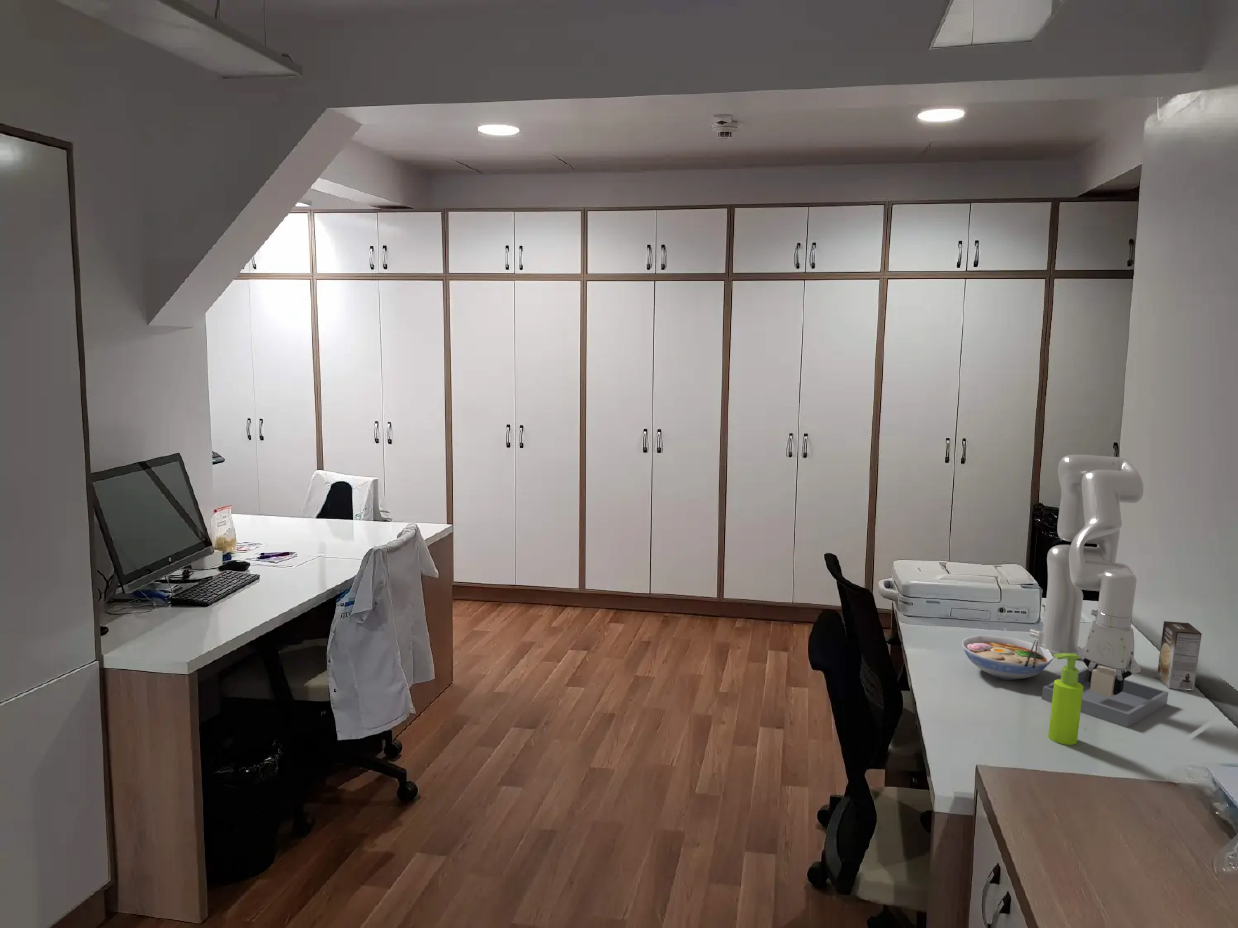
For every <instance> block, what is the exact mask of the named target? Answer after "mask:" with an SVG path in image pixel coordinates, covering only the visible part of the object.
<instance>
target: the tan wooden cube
mask: <svg viewBox="0 0 1238 928" xmlns="http://www.w3.org/2000/svg"><path fill="white" fill-rule="evenodd" d="M1115 679H1117V674H1116V669H1114V668H1110V667H1107V666H1104V665H1100V666H1098V667H1097V668H1096V669H1094V670H1092V677H1091V685H1090V691H1091V692H1094V693H1097V694H1100V695H1103V696H1106V697H1109V698H1112V697H1113V696H1115V695H1114V694H1113V689H1114V682H1115Z"/></svg>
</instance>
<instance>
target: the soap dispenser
mask: <svg viewBox="0 0 1238 928" xmlns="http://www.w3.org/2000/svg"><path fill="white" fill-rule="evenodd" d="M1052 656H1053V658H1056V659H1057V660H1065V659H1066V665H1065V666H1062V667H1061V676H1060V678H1057V679H1055V680H1054V681H1053V682H1054V688H1053V697H1052V702H1051V707H1050V708H1051V709H1050V718H1049V725H1048V726H1049V727H1048V735H1047V737H1048V739H1050V740H1051V741H1053V742H1055V743H1056V744H1057V743H1058V744H1061V745H1068V746H1071V745H1073V746H1074V745H1076V744H1077V743H1078V736H1079V729H1080V718H1081V703H1082V695H1083V685H1082V684H1080V683H1078V674H1079V669H1078V668H1076V661H1077V660H1081V658H1080V656H1078V655H1077V654H1073V653H1058V654H1054V655H1052Z"/></svg>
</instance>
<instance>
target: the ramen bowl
mask: <svg viewBox="0 0 1238 928" xmlns="http://www.w3.org/2000/svg"><path fill="white" fill-rule="evenodd" d="M1036 642H1037V644H1038V639H1037V641H1036V639H1035V640H1034V641H1033V643H1032V642H1030V641H1026V640H1022V639H1017V638H1013V637H1006V636H999V635H998V636H997V635H974V636H968V637H966V638H963V639H962V640H961V644H962V648H963V650H964V653H965V654H966V656H967V658H968V659H969V660H970V662H971V663H972V664H974V665H975V667H977V668H978V669H980V670H981V671H983V672H985V673H987V674H990V675H991V676H992V677H995V678H996V679H997V678H998V679H1000V680H1001V679H1002V680H1005V681H1015V680H1020V679H1028V678H1032V677H1034V676H1037V675H1038V674H1039V673H1041V672H1042V671H1043V670H1045V669H1046V668H1047V667H1048V666H1049V665H1050V664H1051V662H1052V661H1053V659H1054V656H1053V655H1052V654H1051V652H1049V651H1048V650H1046V649H1044V648H1043V647H1041V646H1038V645H1036Z"/></svg>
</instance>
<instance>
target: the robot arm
mask: <svg viewBox="0 0 1238 928" xmlns="http://www.w3.org/2000/svg"><path fill="white" fill-rule="evenodd" d="M1057 476H1058V477H1057V478H1058V483H1059V487H1060V492H1061V495H1060V504H1059V510H1058V518H1057V526H1056V527H1057V529H1056V530H1057V532H1056V533H1057V535H1058V537H1059V539H1061V540H1063V541H1066V542H1071V543H1070V544H1058V545H1055V546H1052V547H1051V548H1050V549H1049V550H1048V552H1047V555H1046V556H1047V557H1046V562H1047V563H1046V564H1047V588H1046V589H1047V590H1046V599H1045V607H1044V616H1043V617H1044V618H1043V626H1042V630H1038V629H1035V628H1030V629H1029V637H1031V638H1036V639H1037V640H1038V644H1037V641H1035V645H1038V646H1041V647H1043V648H1044V649H1046V650H1048V651H1049V652H1051V654H1052V656H1053V655H1054V654H1058V653H1073V654H1077V655H1078V656H1080V660H1082V661H1083V663H1084V665H1086V668H1088V670H1089V678H1088V682H1090V684H1089V687H1090V685H1091V677H1092V670H1094V669H1096V668H1098V667H1099V665H1101V666H1104V667H1107V668H1111V669H1114V670H1116V674H1117V679H1115V682H1114V689H1113V694H1114V695H1117V694H1119V693H1120V692H1122V691H1123V686H1124V679H1126V678H1129V677H1130V676H1133V675H1136V674H1139V673H1140V672H1141V671H1142V669H1141V667H1140V666H1139V664H1138V662H1137V661H1136V658H1135V636H1134V635H1135V634H1134V628H1133V627H1132V626H1131V625H1132V619H1133V610H1134V603H1135V596H1136V595H1135V594H1136V589H1137V588H1136V587H1137V576H1136V575H1135V574H1134V572H1133V571H1132V569H1131V568H1130V567H1129V566H1128V565H1126V564H1125V563H1121V562H1119V563H1118V562H1116V560H1117V554H1118V548H1119V543H1120V542H1119V541H1120V533H1121V527H1122V524H1123V522H1122V514H1121V504H1120V503H1123V504H1136V503H1139V502H1140V501H1141V500H1142V498H1143V495H1144V490H1145V489H1144V481H1143V480H1142V476H1141V474H1140V473H1139V471H1138V470H1137V468H1136V467H1135V466H1134V465H1133V463H1131V462H1130V460H1128V459H1127V458H1126V457H1125V458H1124V457H1119V456H1106V455H1094V454H1092V455H1091V454H1069V455H1064V456H1063V457H1062V458H1061V459H1060V460H1059V462H1058V466H1057ZM1085 544H1093V545H1094V544H1095V545H1097V546H1095V547H1094V546H1085ZM1082 590H1084V591H1093V592H1095V591H1096V592H1099V596H1098V604H1097V609H1096V610H1095V609H1091V611H1090V612H1091V613H1090V614H1091V616H1094V617H1095V620H1092V622H1091V624H1090V627H1089V631H1088V633H1087V639H1086V641H1085V646H1084V647H1083V648H1081V647H1080V646H1079V645H1078V644H1079V638H1080V637H1079V636H1080V629H1081V628H1080V626H1081V621H1082V620H1081V619H1082V609H1083V602H1084V600H1083V599H1084V593H1083V591H1082ZM1128 667H1130V668H1131V669H1128ZM1127 669H1128V670H1127Z"/></svg>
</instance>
